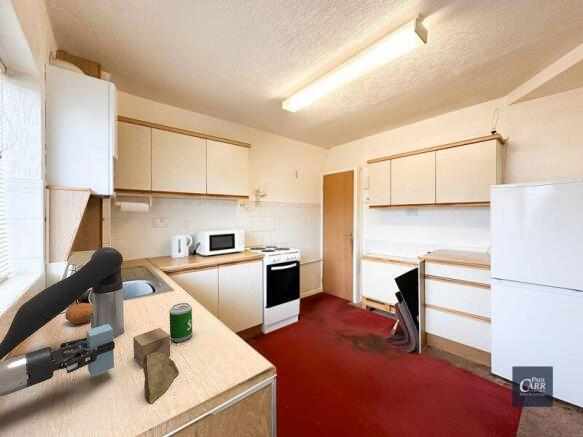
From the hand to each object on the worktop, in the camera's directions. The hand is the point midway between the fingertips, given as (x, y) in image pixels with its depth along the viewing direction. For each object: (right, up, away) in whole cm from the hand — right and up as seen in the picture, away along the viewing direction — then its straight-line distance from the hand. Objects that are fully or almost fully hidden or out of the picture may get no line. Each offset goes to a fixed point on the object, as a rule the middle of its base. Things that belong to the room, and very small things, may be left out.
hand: (111, 341), depth 70 cm
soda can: (+11, -9, +20) cm, 24 cm away
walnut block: (+7, -9, +8) cm, 14 cm away
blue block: (-2, -7, -2) cm, 7 cm away
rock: (+18, -10, -5) cm, 21 cm away
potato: (-38, -9, +33) cm, 51 cm away
